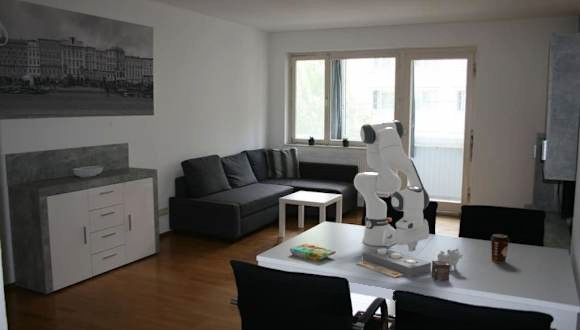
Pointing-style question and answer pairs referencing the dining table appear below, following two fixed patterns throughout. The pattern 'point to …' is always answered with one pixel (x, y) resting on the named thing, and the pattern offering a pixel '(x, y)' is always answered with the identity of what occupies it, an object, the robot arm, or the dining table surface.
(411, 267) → the console
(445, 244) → the dining table surface
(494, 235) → the coffee cup
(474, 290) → the dining table surface
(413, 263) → the button
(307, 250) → the puzzle game
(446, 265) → the box
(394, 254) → the button
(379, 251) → the button
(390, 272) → the pattern card
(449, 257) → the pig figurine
